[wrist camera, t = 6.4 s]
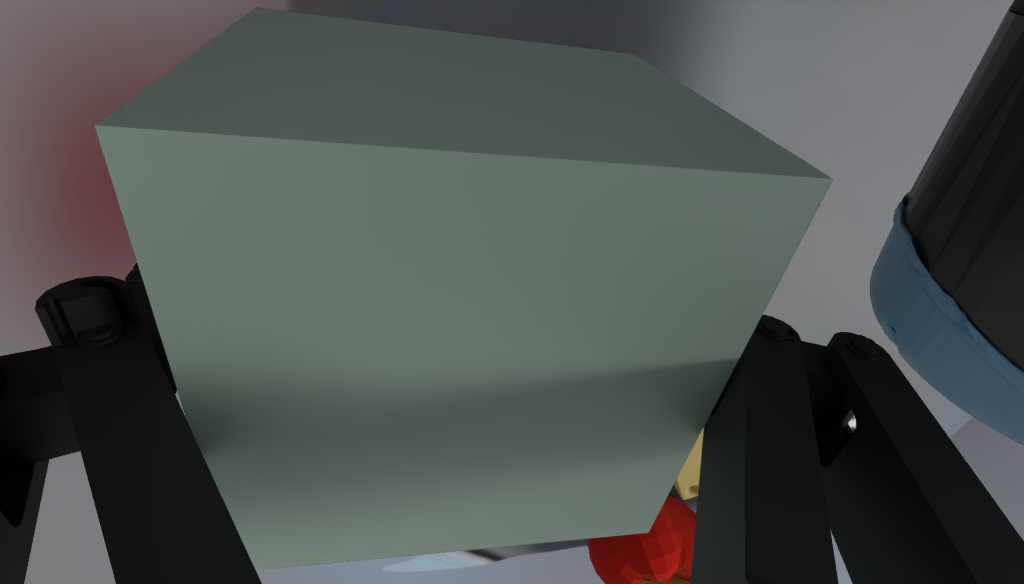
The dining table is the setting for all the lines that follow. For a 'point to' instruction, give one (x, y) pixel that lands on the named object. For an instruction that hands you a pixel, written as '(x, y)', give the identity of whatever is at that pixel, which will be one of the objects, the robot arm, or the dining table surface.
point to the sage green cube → (444, 278)
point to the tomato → (649, 550)
